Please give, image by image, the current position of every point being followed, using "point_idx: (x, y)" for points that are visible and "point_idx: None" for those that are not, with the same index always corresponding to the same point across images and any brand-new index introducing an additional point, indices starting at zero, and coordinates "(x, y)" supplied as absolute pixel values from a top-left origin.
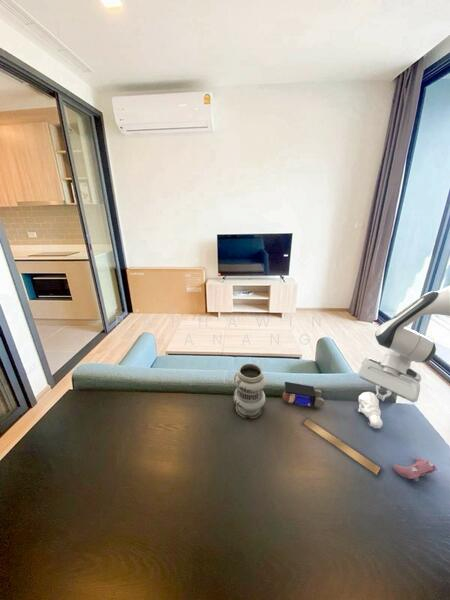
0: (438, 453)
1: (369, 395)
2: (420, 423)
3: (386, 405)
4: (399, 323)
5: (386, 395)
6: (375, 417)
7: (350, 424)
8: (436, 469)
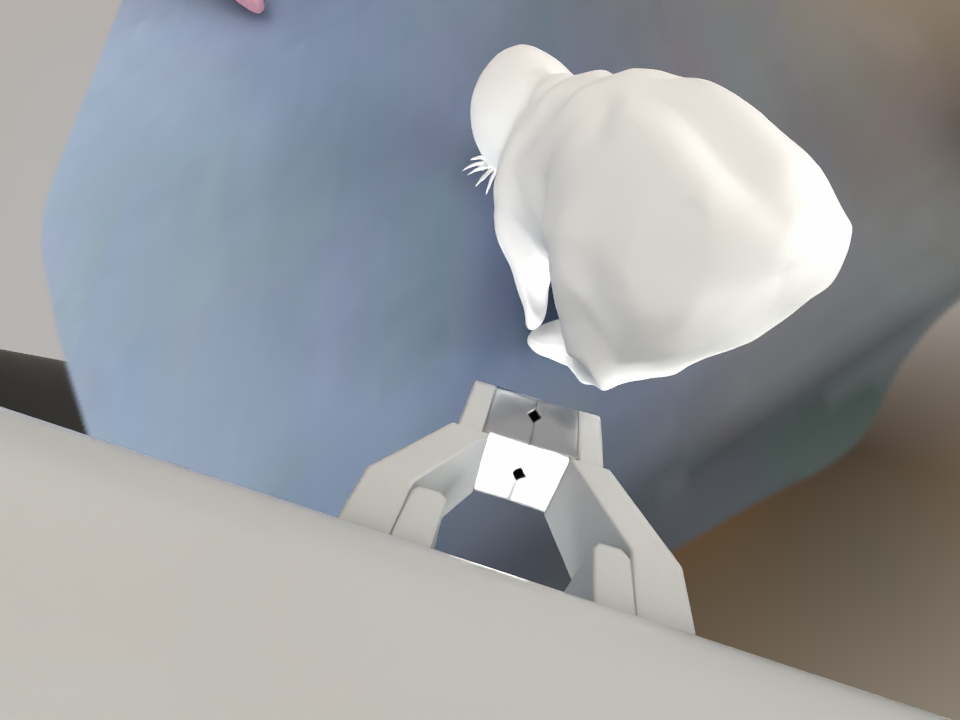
0: (92, 165)
1: (761, 130)
2: (131, 444)
3: None
4: None
5: (439, 439)
6: (550, 59)
7: None
8: None
